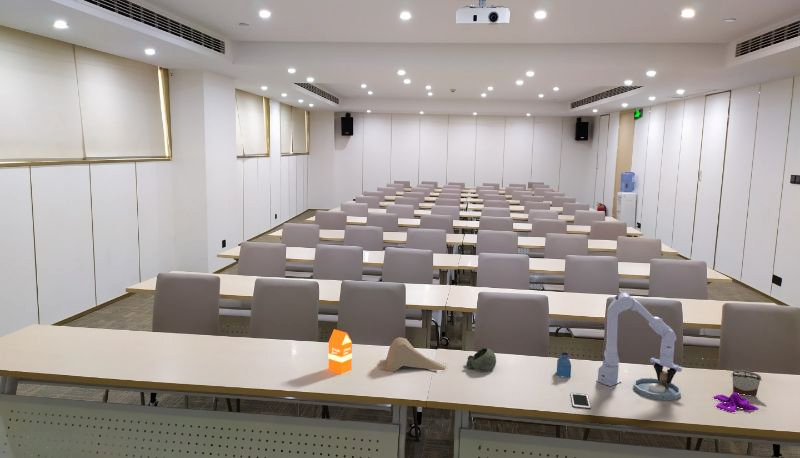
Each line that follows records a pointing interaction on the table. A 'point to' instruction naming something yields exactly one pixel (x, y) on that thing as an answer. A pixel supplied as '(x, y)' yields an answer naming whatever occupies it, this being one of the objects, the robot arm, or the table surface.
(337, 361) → the orange juice
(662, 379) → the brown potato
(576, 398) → the cell phone
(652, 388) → the round tray
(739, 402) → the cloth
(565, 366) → the perfume bottle
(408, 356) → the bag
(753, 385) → the food container
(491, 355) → the green round pot
